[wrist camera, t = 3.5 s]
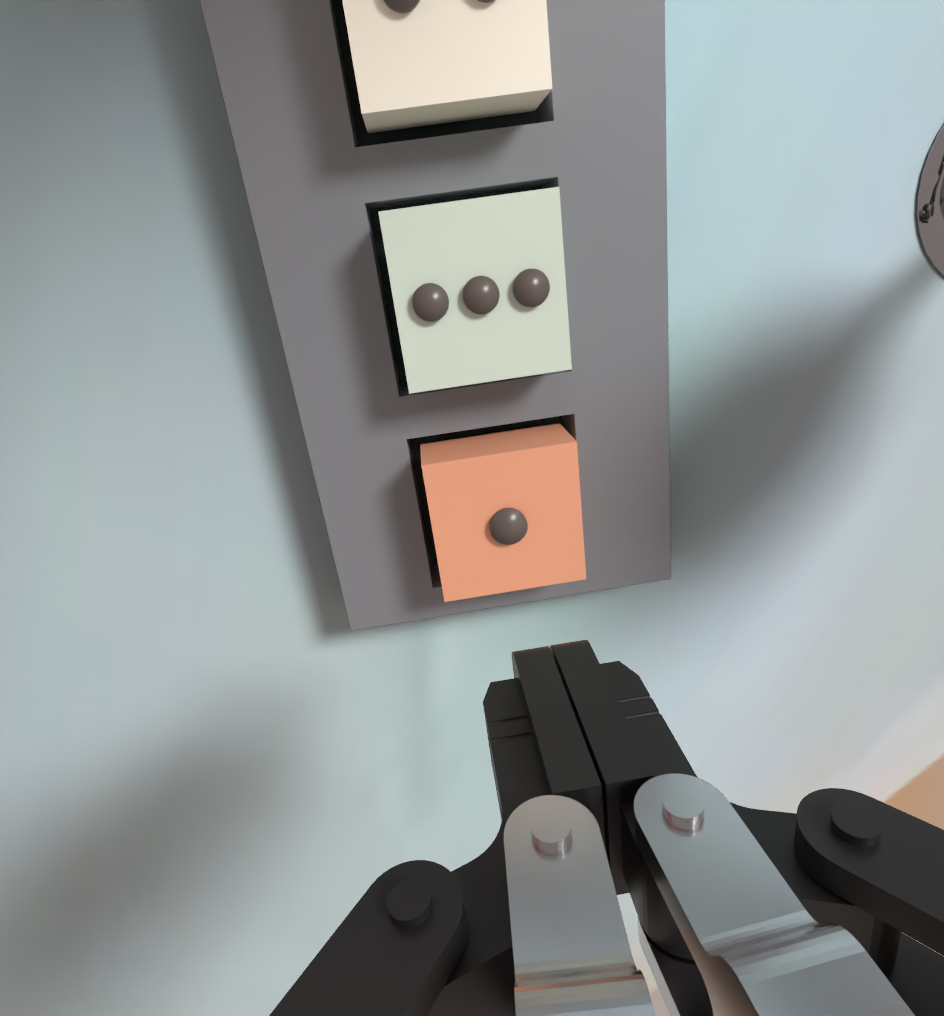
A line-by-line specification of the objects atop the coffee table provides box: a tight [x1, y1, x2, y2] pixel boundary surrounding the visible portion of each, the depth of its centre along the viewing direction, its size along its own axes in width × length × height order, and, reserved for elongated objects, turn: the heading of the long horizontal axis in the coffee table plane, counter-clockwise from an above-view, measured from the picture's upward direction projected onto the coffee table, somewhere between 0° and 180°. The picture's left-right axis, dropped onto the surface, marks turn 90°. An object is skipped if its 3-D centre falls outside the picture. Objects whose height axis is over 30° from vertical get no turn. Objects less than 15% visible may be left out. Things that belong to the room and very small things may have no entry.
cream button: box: [342, 0, 552, 133], centre depth 15 cm, size 5×5×3 cm
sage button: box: [378, 187, 572, 394], centre depth 18 cm, size 5×5×3 cm
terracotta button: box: [420, 423, 586, 602], centre depth 21 cm, size 5×5×3 cm
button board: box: [200, 0, 671, 631], centre depth 20 cm, size 12×22×2 cm, turn 8°
